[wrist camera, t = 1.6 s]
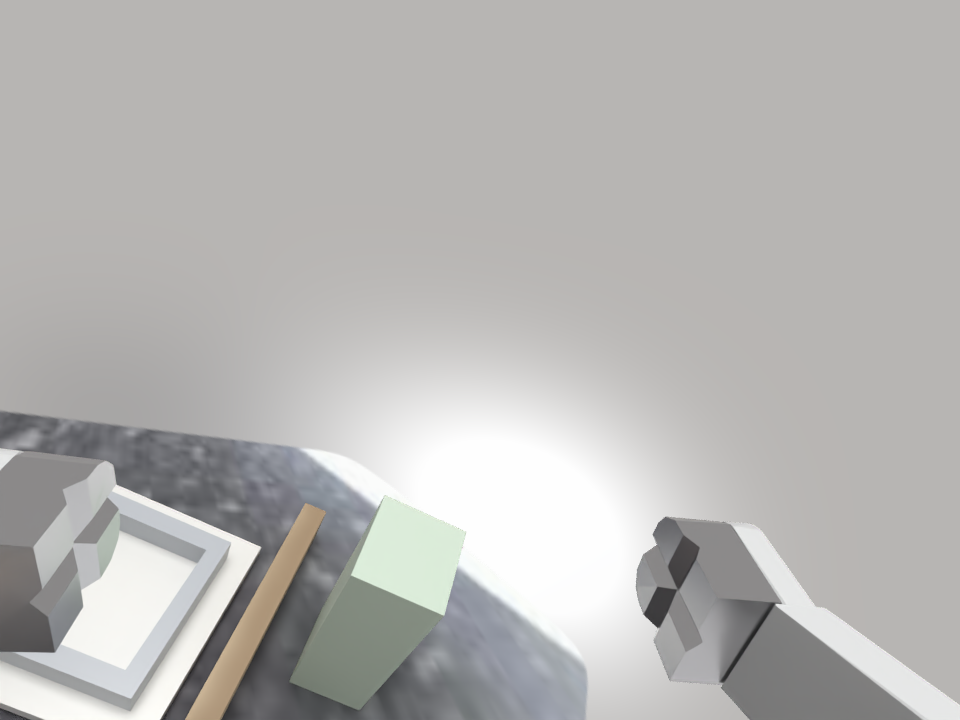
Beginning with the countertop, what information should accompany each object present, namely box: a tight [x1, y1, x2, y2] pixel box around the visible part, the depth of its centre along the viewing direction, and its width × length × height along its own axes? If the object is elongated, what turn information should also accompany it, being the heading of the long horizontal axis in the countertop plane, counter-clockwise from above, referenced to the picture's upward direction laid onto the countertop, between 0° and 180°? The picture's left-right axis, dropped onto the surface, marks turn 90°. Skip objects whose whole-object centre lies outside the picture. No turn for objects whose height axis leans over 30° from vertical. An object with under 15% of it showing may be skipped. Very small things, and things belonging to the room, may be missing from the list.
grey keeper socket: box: [0, 485, 261, 720], centre depth 32 cm, size 12×12×3 cm
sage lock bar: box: [289, 495, 466, 710], centre depth 31 cm, size 4×4×14 cm
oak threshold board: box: [185, 503, 326, 720], centre depth 34 cm, size 2×15×3 cm, turn 168°
